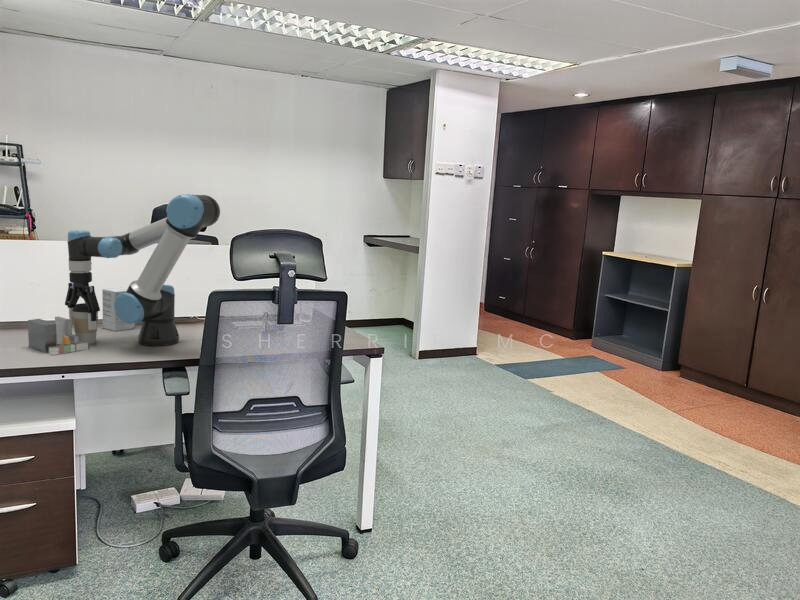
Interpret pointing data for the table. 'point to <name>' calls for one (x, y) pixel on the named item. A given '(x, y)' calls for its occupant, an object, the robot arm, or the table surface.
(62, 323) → the light grey slab
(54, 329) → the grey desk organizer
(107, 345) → the table surface
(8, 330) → the table surface
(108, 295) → the supplement box
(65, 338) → the orange stepped block
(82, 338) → the coffee cup
